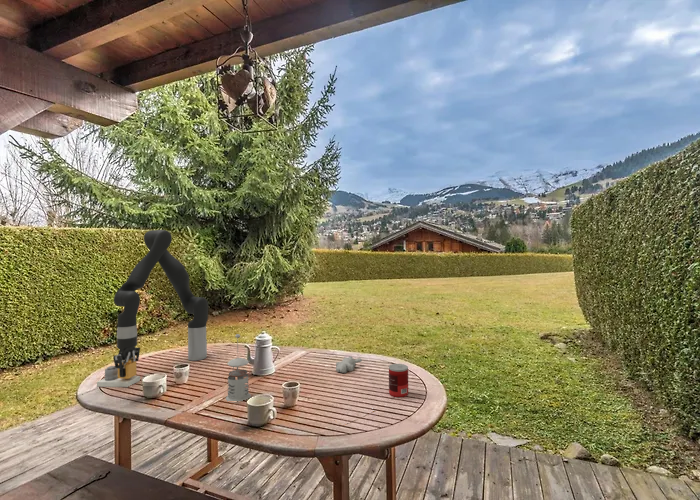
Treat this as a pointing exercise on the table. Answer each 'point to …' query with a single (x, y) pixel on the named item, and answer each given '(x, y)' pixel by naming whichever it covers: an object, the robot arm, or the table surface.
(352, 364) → the bunny figurine
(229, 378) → the french press
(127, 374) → the domed tan cube
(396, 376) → the canned food
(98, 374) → the table surface
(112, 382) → the white rectangular plate
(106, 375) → the capped post
